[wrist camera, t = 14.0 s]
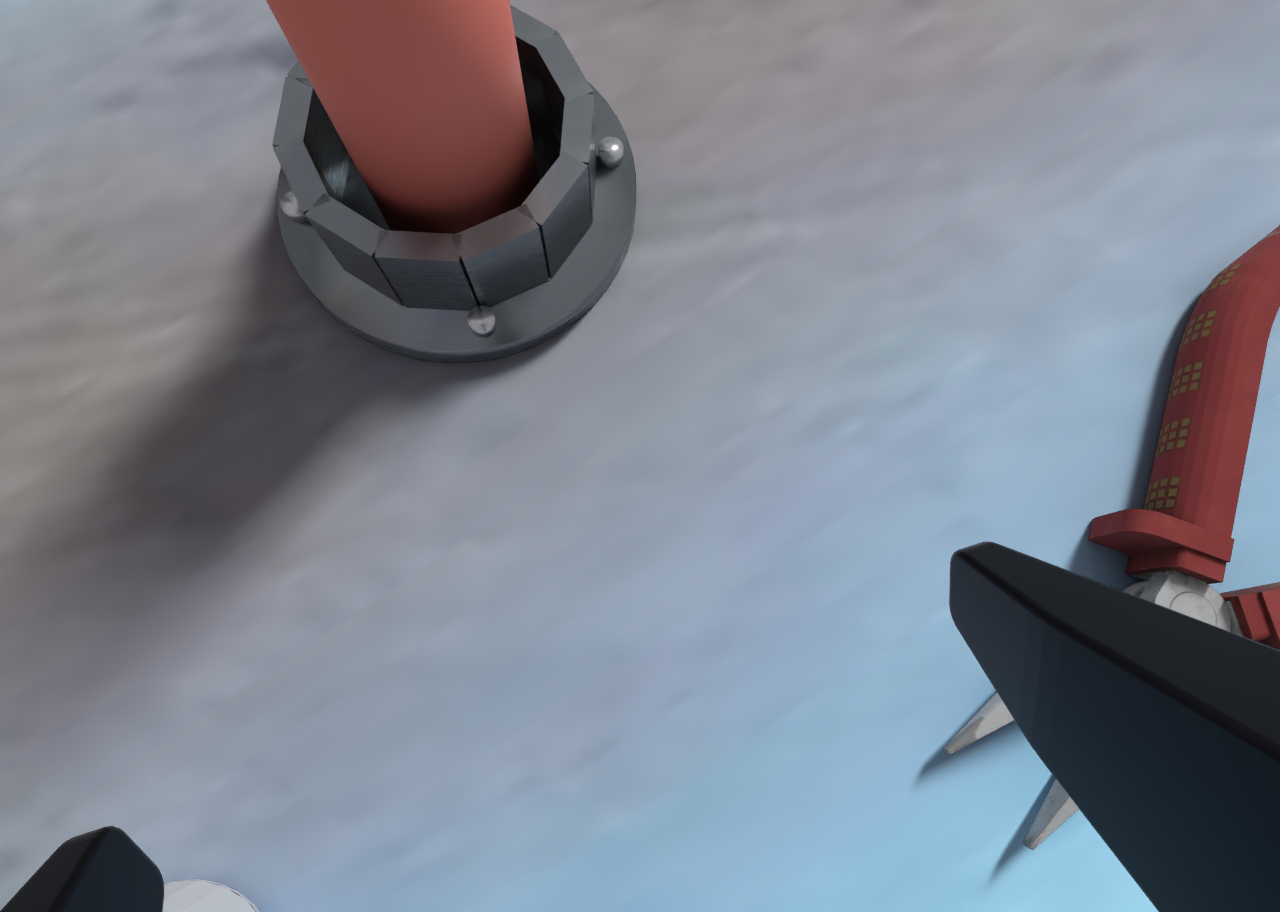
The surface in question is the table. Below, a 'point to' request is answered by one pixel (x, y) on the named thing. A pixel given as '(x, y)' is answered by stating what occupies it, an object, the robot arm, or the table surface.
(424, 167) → the orange capped cylinder
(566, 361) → the table surface
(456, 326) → the pipe socket
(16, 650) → the table surface
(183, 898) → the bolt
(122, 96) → the table surface
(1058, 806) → the pliers
